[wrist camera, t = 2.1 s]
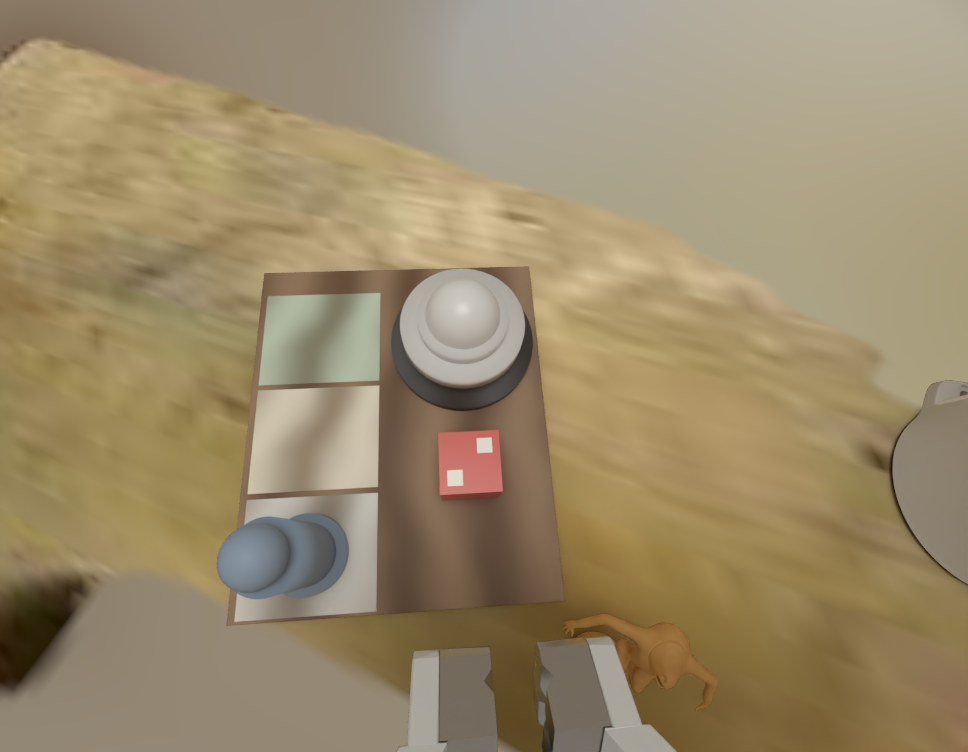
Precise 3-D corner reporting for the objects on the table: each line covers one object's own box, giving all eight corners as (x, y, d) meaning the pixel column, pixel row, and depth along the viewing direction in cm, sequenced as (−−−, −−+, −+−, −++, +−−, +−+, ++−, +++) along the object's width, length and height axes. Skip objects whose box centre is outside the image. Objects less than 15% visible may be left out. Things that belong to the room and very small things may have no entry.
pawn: (349, 511, 33) (301, 497, 23) (347, 593, 31) (293, 616, 21) (273, 516, 33) (189, 503, 23) (266, 599, 31) (172, 625, 21)
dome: (517, 277, 37) (526, 237, 32) (527, 385, 34) (539, 359, 29) (401, 280, 37) (393, 240, 32) (402, 391, 34) (392, 365, 29)
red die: (494, 442, 35) (498, 429, 31) (498, 497, 34) (503, 491, 30) (440, 444, 35) (438, 432, 31) (442, 500, 34) (439, 494, 30)
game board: (526, 275, 42) (530, 260, 40) (560, 598, 33) (567, 602, 31) (271, 282, 40) (259, 266, 38) (236, 622, 32) (219, 628, 29)
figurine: (520, 656, 32) (553, 716, 21) (558, 571, 34) (608, 584, 23) (633, 724, 31) (732, 827, 20) (665, 633, 33) (773, 679, 22)
